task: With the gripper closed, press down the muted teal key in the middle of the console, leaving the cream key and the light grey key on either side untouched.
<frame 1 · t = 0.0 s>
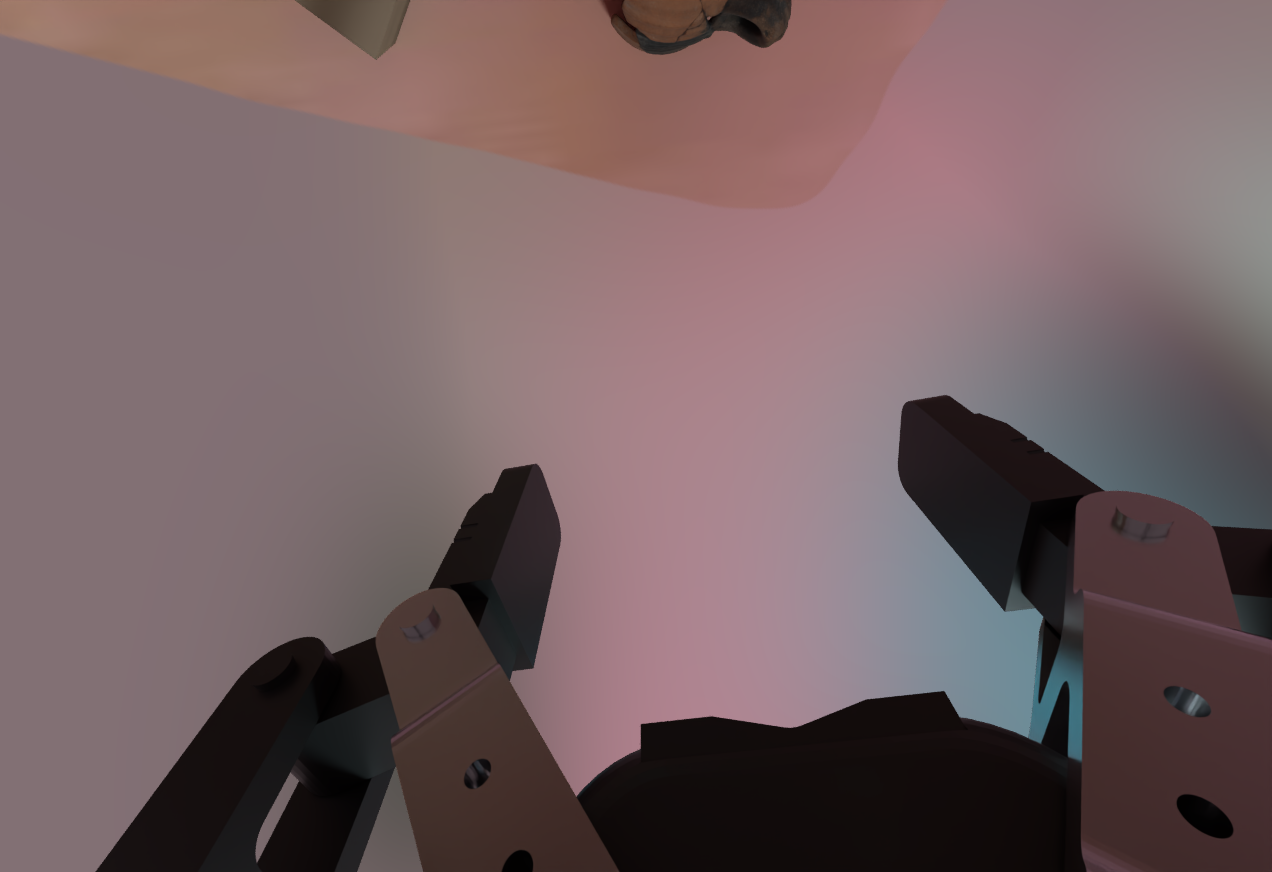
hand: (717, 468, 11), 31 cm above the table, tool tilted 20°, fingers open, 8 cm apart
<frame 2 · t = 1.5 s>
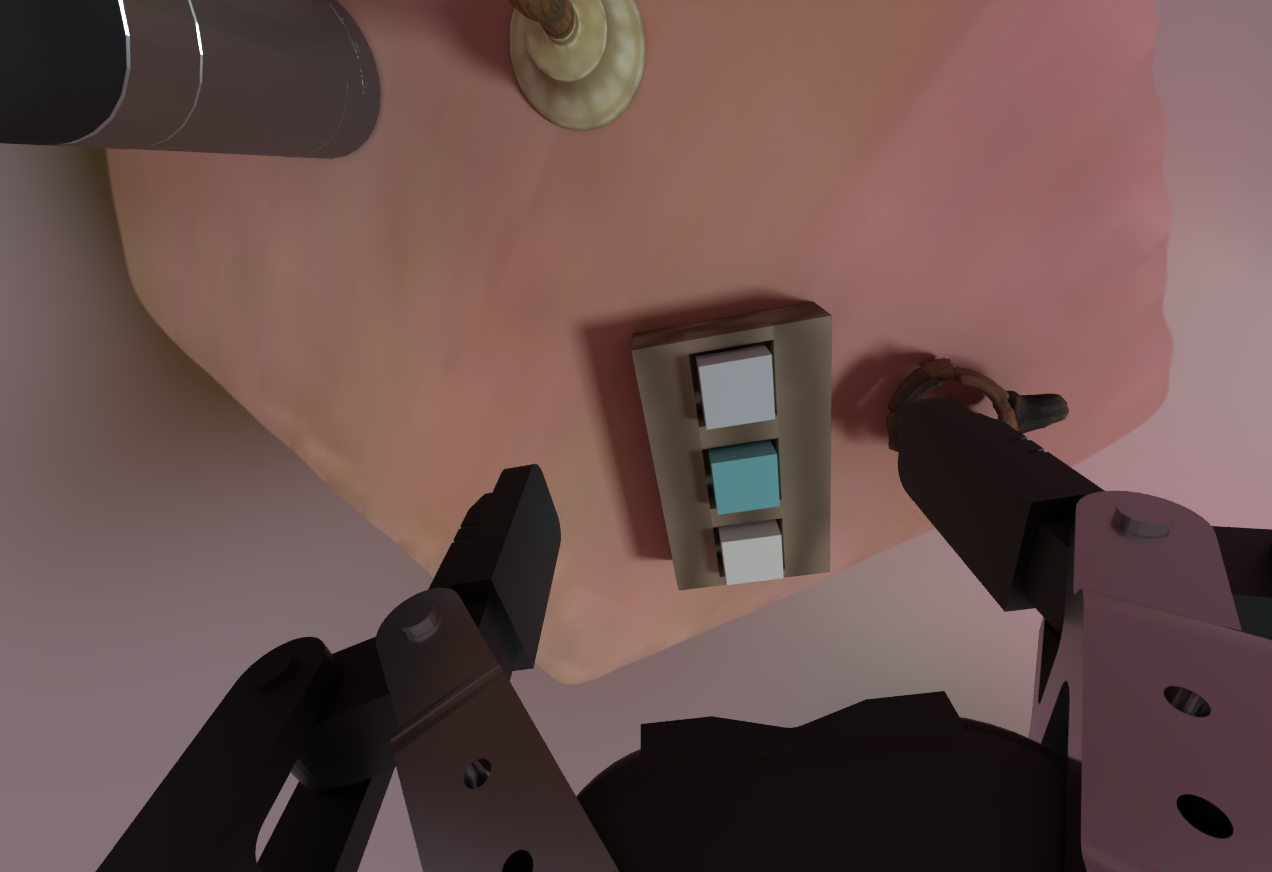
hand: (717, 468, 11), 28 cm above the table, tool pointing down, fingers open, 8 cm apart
hand bell: (578, 51, 30), on the table
cream key: (750, 552, 43), point 4 cm above the table, slide at 0.0 cm
console: (734, 450, 43), on the table
pottery mug: (945, 403, 41), on the table
grey key: (735, 387, 35), point 4 cm above the table, slide at 0.0 cm
teal key: (743, 477, 39), point 4 cm above the table, slide at 0.0 cm
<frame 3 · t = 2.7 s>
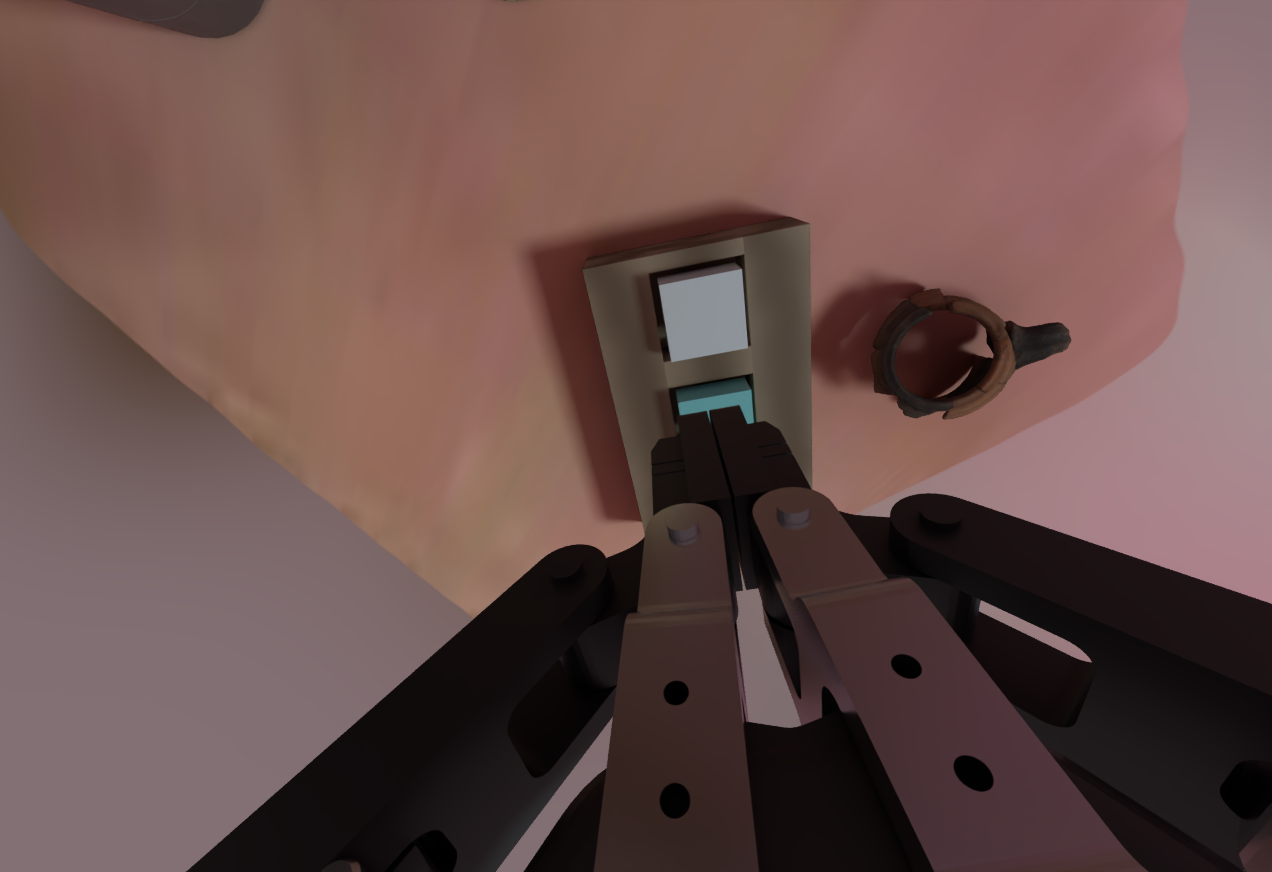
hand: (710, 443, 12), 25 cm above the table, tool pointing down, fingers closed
console: (707, 394, 39), on the table
pottery mug: (935, 342, 37), on the table
grey key: (702, 312, 31), point 4 cm above the table, slide at 0.0 cm
teal key: (715, 420, 35), point 4 cm above the table, slide at 0.0 cm
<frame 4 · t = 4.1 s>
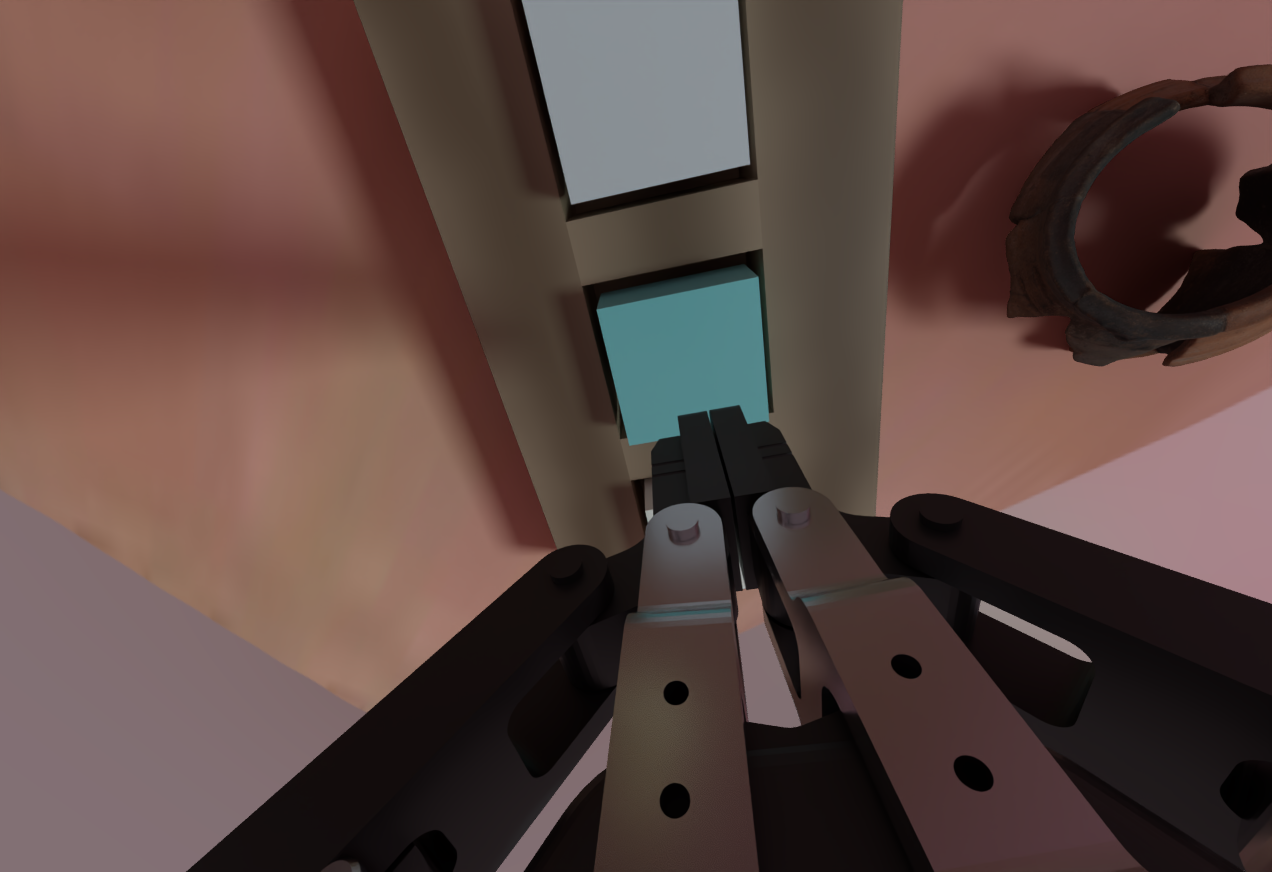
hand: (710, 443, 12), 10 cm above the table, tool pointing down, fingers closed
cream key: (712, 531, 21), point 4 cm above the table, slide at 0.0 cm
console: (676, 322, 21), on the table
pottery mug: (1118, 224, 19), on the table
grey key: (641, 81, 13), point 4 cm above the table, slide at 0.0 cm
teal key: (685, 357, 17), point 4 cm above the table, slide at 0.0 cm
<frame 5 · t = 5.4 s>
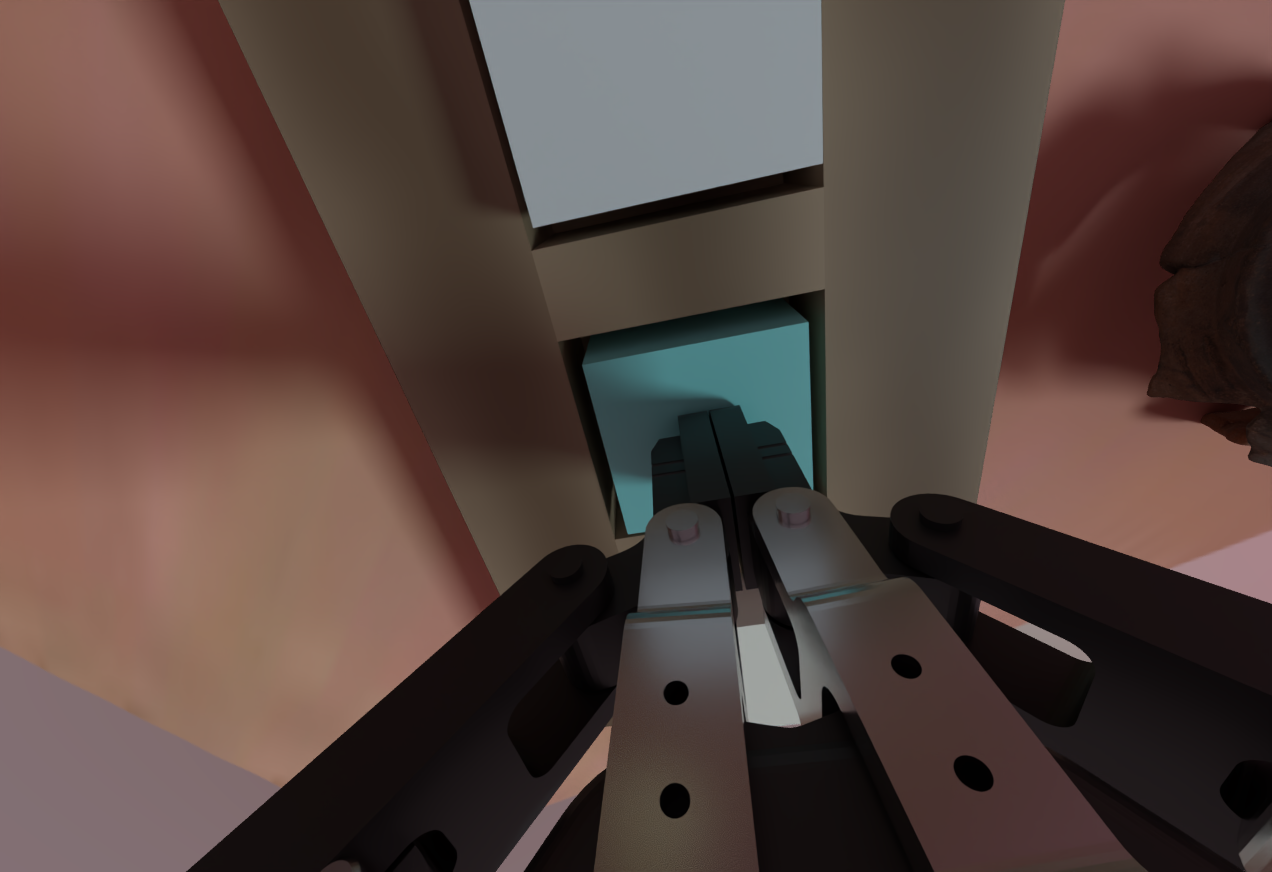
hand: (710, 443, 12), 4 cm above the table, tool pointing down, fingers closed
cream key: (738, 650, 16), point 4 cm above the table, slide at 0.0 cm
console: (690, 373, 16), on the table
grey key: (645, 28, 8), point 4 cm above the table, slide at 0.0 cm
teal key: (701, 420, 13), point 3 cm above the table, slide at 1.0 cm, touching gripper
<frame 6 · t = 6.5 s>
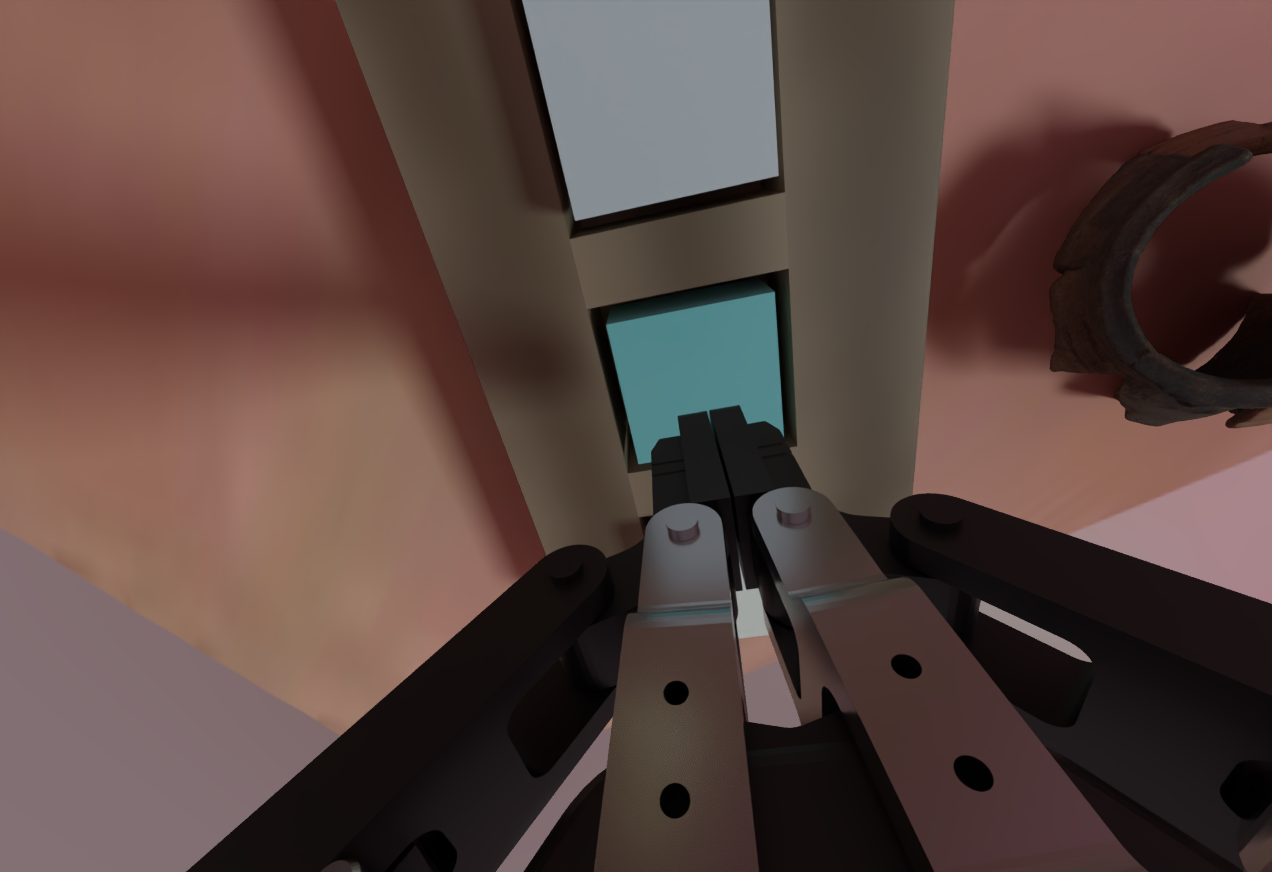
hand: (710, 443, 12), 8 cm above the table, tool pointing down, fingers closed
cream key: (728, 572, 19), point 4 cm above the table, slide at 0.0 cm
console: (689, 344, 19), on the table
pottery mug: (1168, 267, 18), on the table
grey key: (655, 82, 11), point 4 cm above the table, slide at 0.0 cm
teal key: (697, 373, 16), point 3 cm above the table, slide at 1.2 cm
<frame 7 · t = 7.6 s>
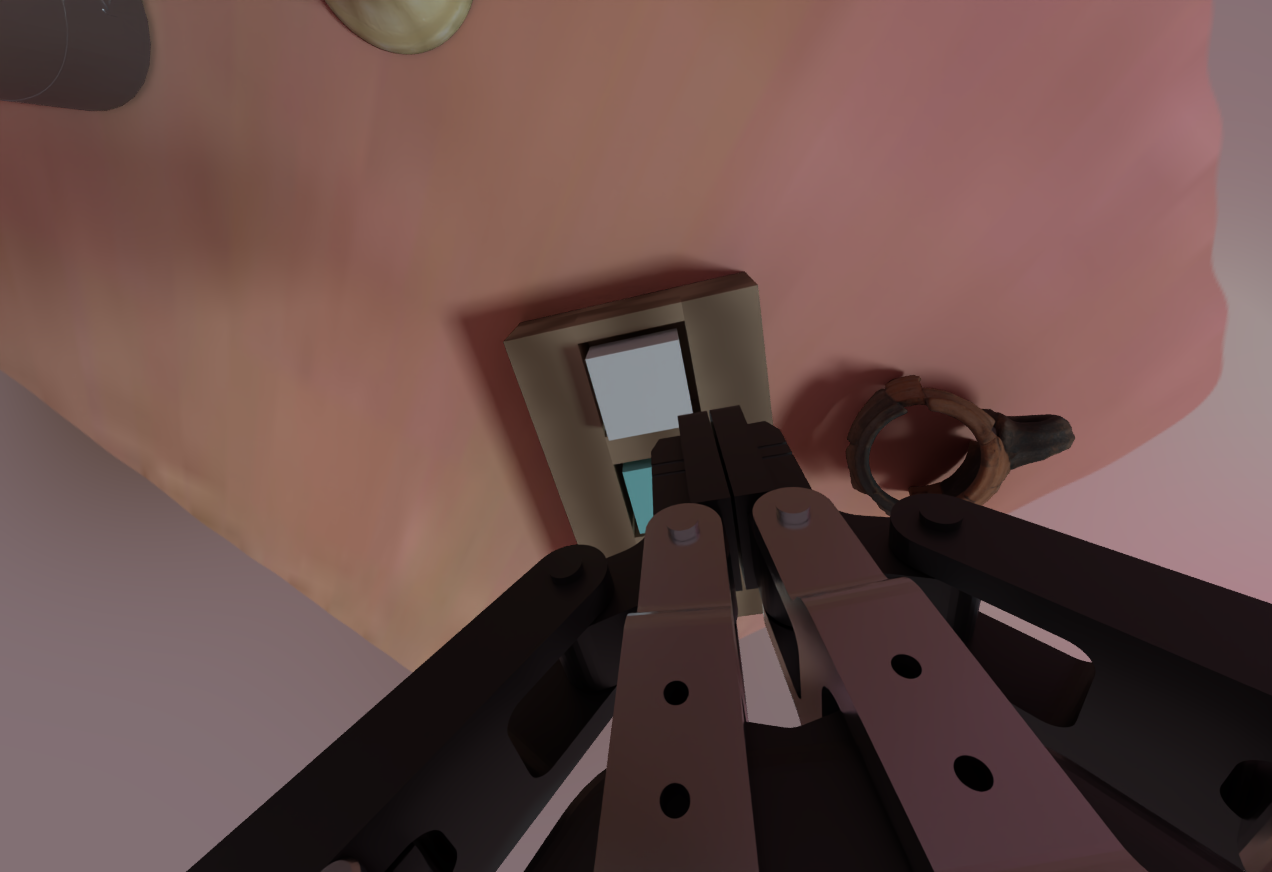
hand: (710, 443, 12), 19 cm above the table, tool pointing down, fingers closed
console: (667, 462, 35), on the table
pottery mug: (922, 427, 33), on the table
grey key: (642, 385, 27), point 4 cm above the table, slide at 0.0 cm
teal key: (668, 488, 32), point 3 cm above the table, slide at 1.2 cm
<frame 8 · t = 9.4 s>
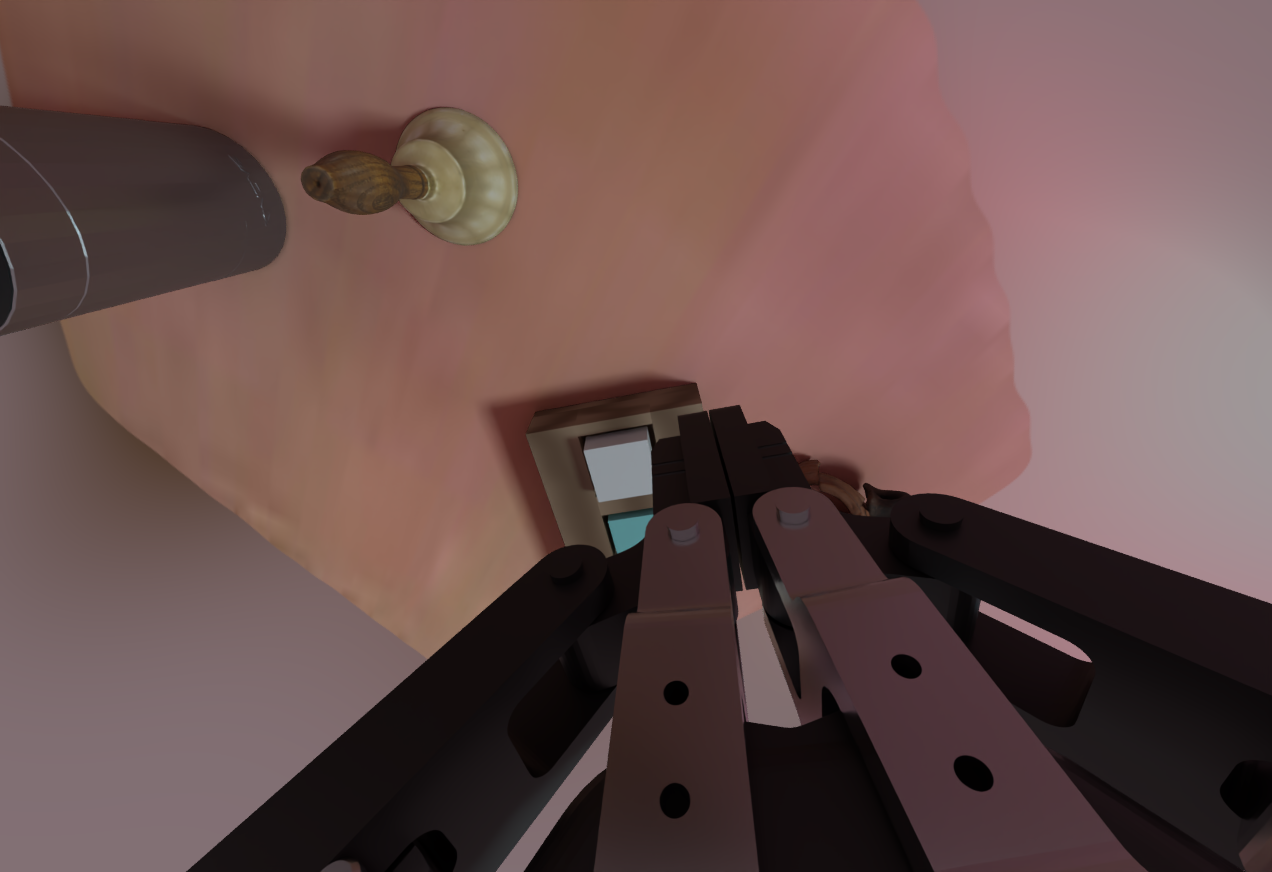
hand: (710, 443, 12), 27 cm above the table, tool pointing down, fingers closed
hand bell: (458, 180, 33), on the table
console: (641, 509, 46), on the table
pottery mug: (827, 492, 46), on the table
grey key: (622, 464, 39), point 4 cm above the table, slide at 0.0 cm
teal key: (641, 530, 44), point 3 cm above the table, slide at 1.2 cm
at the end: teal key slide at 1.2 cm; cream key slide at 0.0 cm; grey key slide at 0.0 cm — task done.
